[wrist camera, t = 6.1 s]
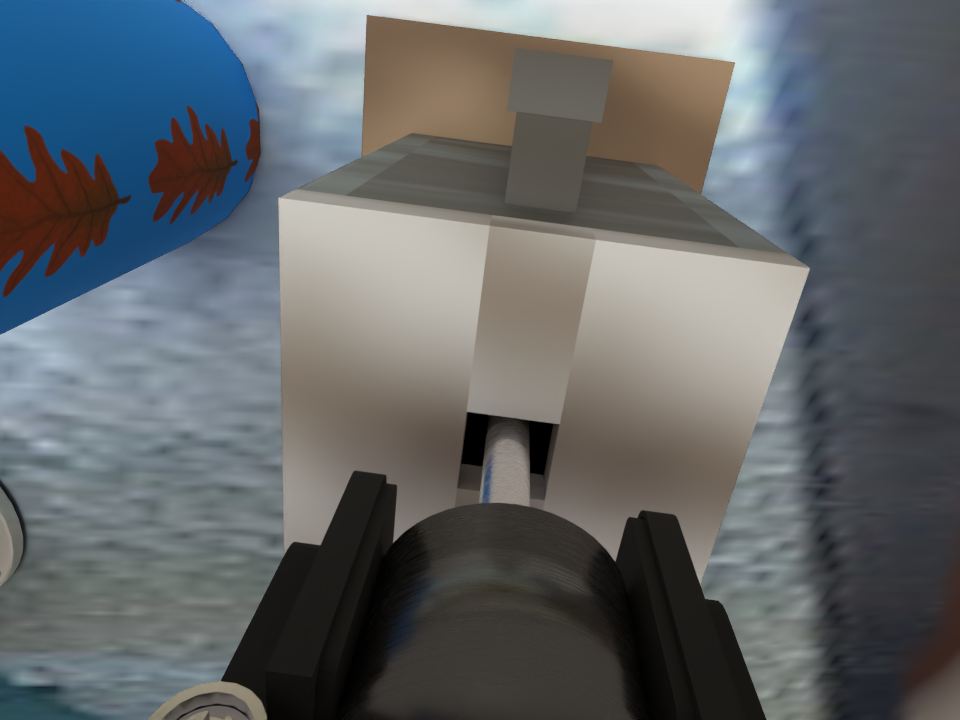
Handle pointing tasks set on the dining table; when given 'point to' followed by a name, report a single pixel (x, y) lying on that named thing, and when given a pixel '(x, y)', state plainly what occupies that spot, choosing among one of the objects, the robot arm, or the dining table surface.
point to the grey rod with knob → (497, 613)
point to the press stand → (526, 288)
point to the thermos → (112, 142)
